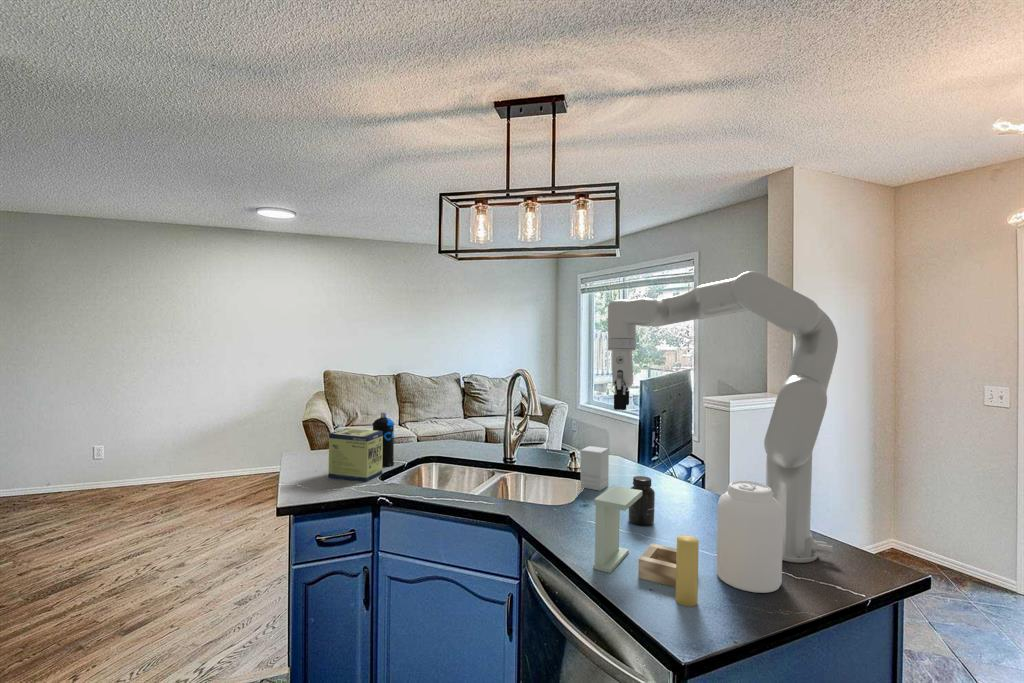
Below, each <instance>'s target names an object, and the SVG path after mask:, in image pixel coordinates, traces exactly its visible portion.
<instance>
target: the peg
mask: <svg viewBox="0 0 1024 683" xmlns="http://www.w3.org/2000/svg"><path fill="white" fill-rule="evenodd" d="M699 544H700V541H699V539H698V538H696V536H695V537H694V536H692V535H685V534H684V535H678V536H677V537H676V549H677V553H676V588H675V602H676V603H677V604H679V605H681V606H684V607H696V606H697V605H698V598H699V596H698V595H699V594H698V590H699V588H698V587H699Z"/></svg>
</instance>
